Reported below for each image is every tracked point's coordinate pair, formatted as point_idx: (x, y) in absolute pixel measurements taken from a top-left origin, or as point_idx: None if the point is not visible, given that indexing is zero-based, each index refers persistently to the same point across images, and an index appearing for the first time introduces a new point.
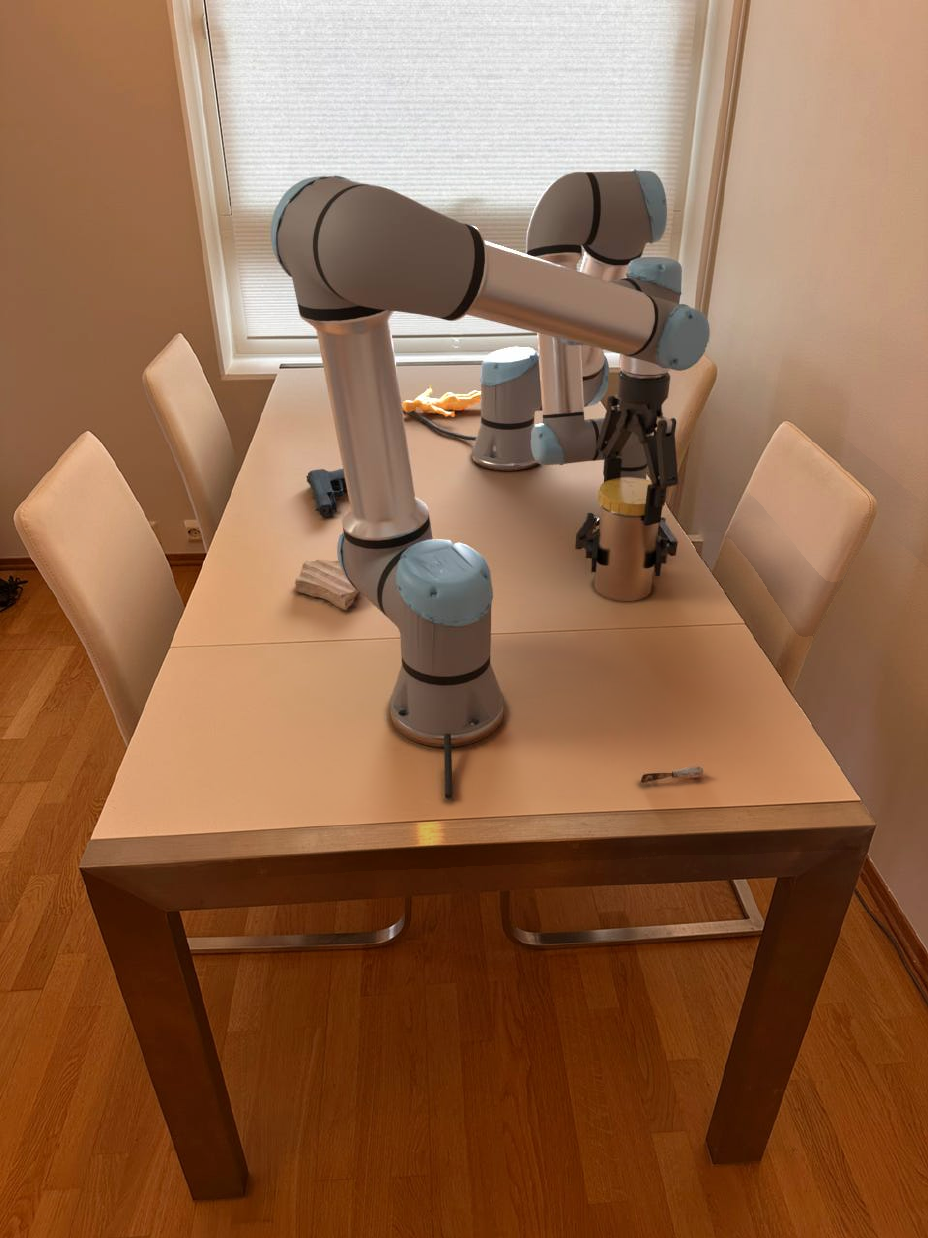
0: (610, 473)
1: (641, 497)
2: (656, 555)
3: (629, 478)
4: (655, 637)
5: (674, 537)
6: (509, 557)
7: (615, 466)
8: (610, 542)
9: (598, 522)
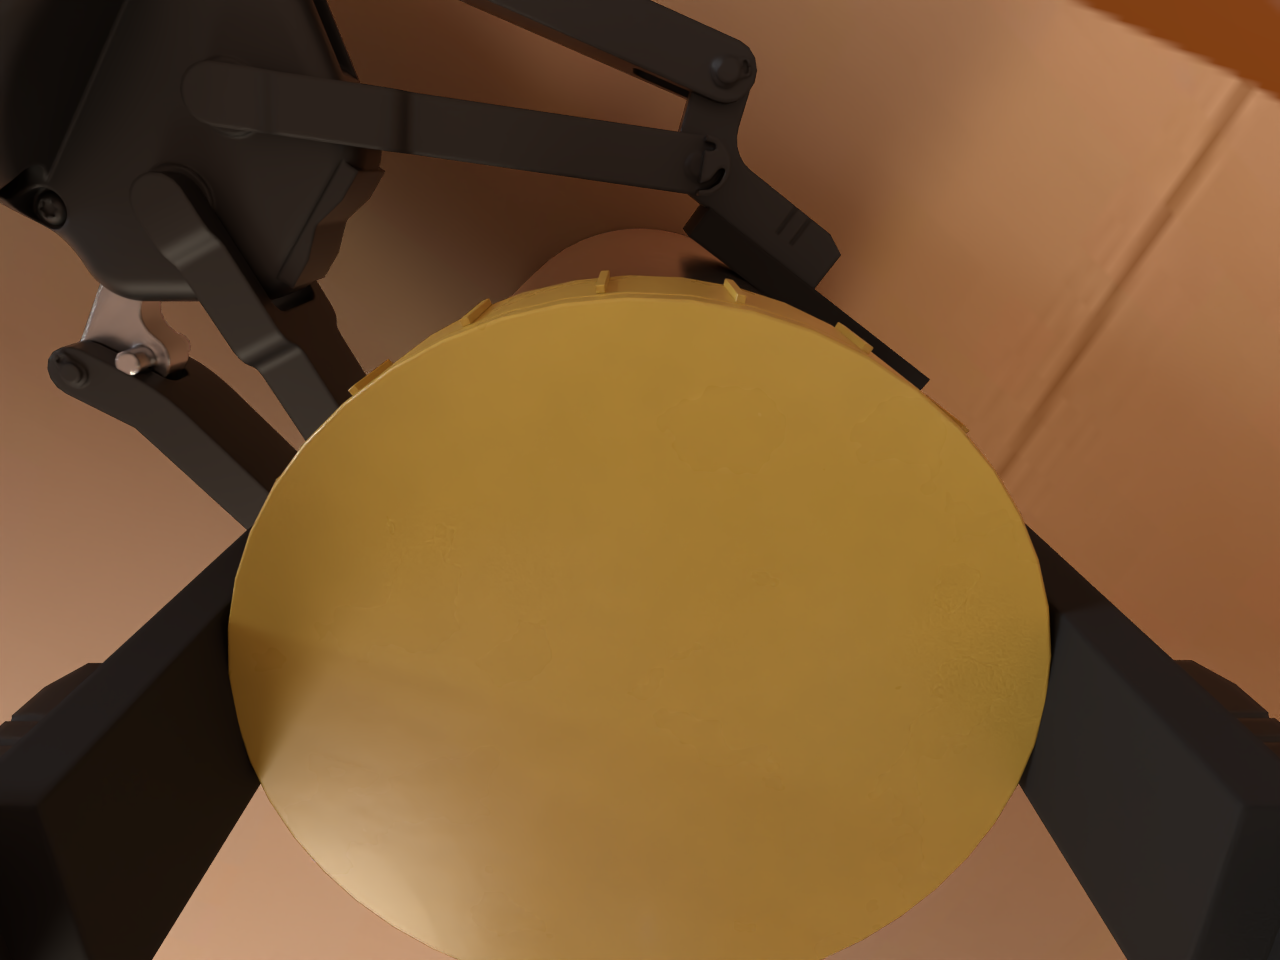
0: (203, 813)
1: (865, 738)
2: None
3: (294, 539)
4: (1066, 509)
5: (676, 18)
6: None
7: (135, 820)
8: None
9: (159, 331)
